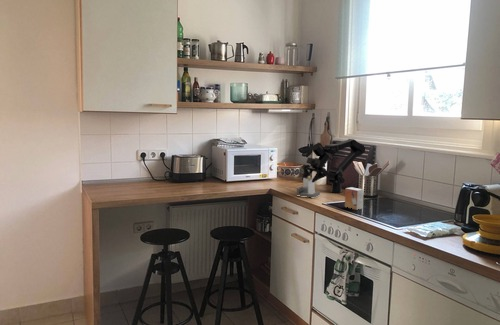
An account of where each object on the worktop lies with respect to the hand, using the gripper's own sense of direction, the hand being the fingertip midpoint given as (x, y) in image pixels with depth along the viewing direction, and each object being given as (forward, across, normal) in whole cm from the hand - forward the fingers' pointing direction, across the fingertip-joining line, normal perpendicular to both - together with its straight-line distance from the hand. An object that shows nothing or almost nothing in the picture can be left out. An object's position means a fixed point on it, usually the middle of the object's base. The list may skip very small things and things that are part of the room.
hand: (307, 180), depth 250 cm
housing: (+4, 0, +6) cm, 7 cm away
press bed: (+6, 0, +8) cm, 10 cm away
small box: (+5, +36, +9) cm, 38 cm away
